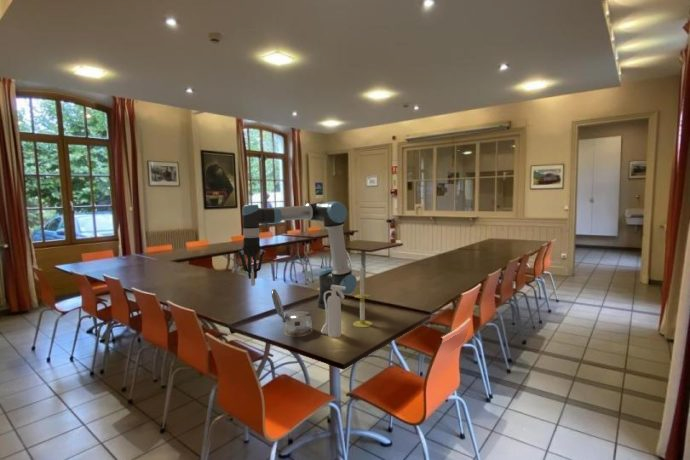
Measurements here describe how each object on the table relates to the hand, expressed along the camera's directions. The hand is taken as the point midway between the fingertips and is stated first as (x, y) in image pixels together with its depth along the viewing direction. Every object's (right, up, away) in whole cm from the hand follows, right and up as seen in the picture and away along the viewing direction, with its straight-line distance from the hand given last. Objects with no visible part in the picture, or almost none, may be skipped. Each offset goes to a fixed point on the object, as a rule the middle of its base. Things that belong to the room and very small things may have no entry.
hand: (253, 285), depth 175 cm
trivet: (+22, -24, +4) cm, 33 cm away
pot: (+22, -23, +4) cm, 32 cm away
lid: (+12, -9, +2) cm, 16 cm away
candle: (+54, -23, +14) cm, 60 cm away
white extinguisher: (+39, -24, -2) cm, 46 cm away
